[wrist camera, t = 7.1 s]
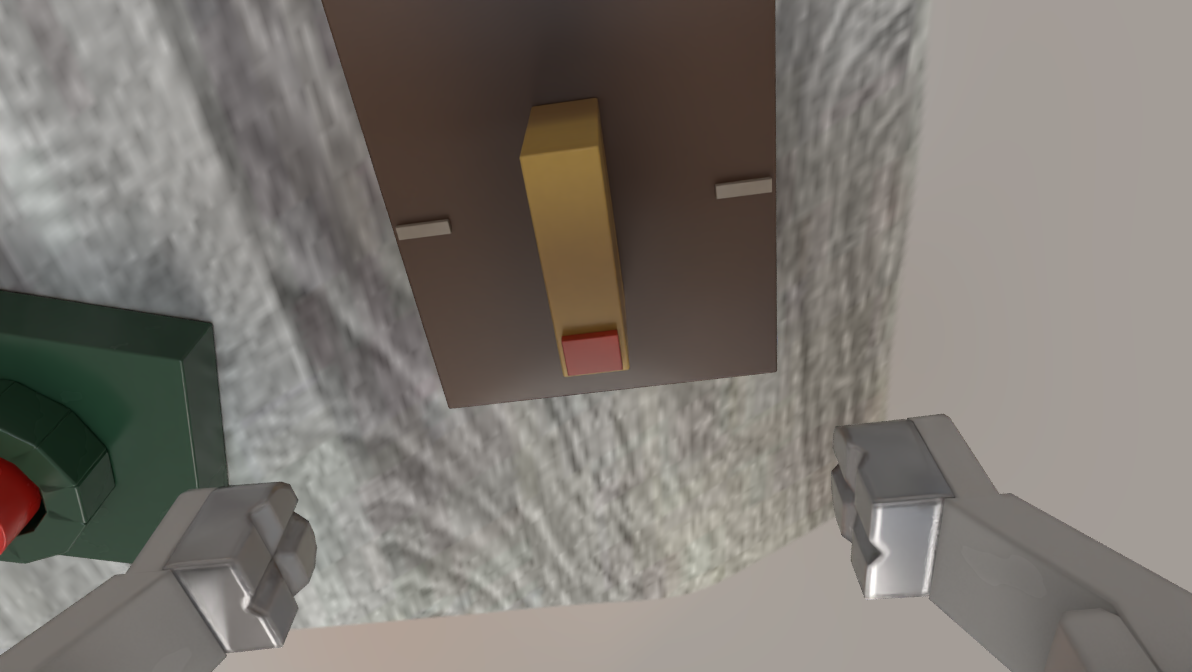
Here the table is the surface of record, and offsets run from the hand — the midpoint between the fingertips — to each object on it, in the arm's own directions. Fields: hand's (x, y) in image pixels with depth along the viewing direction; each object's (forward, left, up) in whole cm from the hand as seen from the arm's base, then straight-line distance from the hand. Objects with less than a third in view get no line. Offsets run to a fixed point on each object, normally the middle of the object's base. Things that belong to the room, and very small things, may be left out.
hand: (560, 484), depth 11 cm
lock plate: (0, 0, -13) cm, 13 cm away
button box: (+17, +12, -13) cm, 24 cm away
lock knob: (0, 0, -10) cm, 10 cm away
